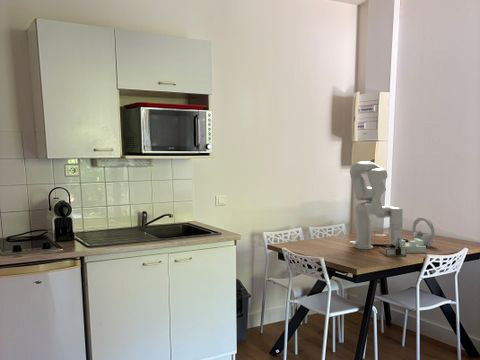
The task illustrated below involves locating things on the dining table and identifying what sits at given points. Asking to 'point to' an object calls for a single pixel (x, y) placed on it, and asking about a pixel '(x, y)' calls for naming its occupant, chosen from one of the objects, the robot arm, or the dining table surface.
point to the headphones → (427, 236)
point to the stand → (414, 246)
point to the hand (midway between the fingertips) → (395, 253)
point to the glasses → (392, 251)
